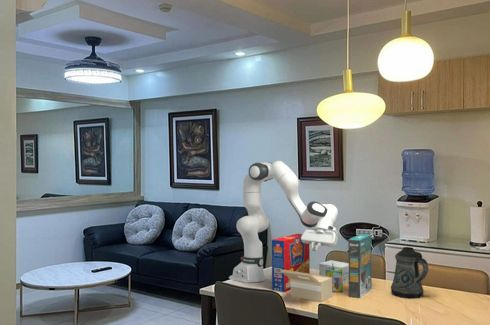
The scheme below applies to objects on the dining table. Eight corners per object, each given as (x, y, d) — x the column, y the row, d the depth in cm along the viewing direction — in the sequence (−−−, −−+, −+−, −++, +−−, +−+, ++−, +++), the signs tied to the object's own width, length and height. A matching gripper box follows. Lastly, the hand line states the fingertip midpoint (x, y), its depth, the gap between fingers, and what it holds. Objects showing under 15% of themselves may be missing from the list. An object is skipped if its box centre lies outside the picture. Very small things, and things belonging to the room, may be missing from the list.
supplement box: (318, 278, 292) (318, 263, 292) (330, 274, 302) (330, 259, 302) (342, 283, 281) (342, 267, 281) (354, 279, 290) (354, 263, 290)
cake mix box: (360, 287, 270) (360, 234, 270) (371, 288, 267) (371, 234, 267) (348, 296, 251) (348, 239, 251) (360, 298, 248) (359, 240, 248)
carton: (290, 296, 252) (290, 276, 252) (302, 291, 262) (301, 272, 262) (321, 302, 242) (320, 281, 242) (332, 296, 251) (331, 277, 251)
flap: (290, 279, 251) (280, 272, 243) (291, 276, 251) (281, 269, 244) (317, 283, 241) (308, 276, 233) (318, 281, 242) (309, 273, 234)
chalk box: (342, 292, 259) (342, 265, 259) (325, 291, 261) (325, 264, 261) (342, 288, 268) (342, 261, 269) (326, 287, 270) (326, 261, 270)
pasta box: (284, 292, 261) (284, 241, 261) (272, 290, 265) (271, 239, 265) (309, 282, 283) (309, 234, 283) (297, 280, 288) (297, 233, 288)
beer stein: (393, 289, 266) (393, 244, 266) (430, 293, 257) (430, 246, 257) (388, 296, 251) (388, 248, 251) (427, 301, 242) (427, 251, 242)
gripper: (304, 224, 267) (295, 244, 260) (338, 228, 255) (329, 249, 247) (308, 231, 271) (299, 251, 263) (341, 235, 259) (333, 256, 251)
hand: (314, 250), depth 255 cm, fingers closed
